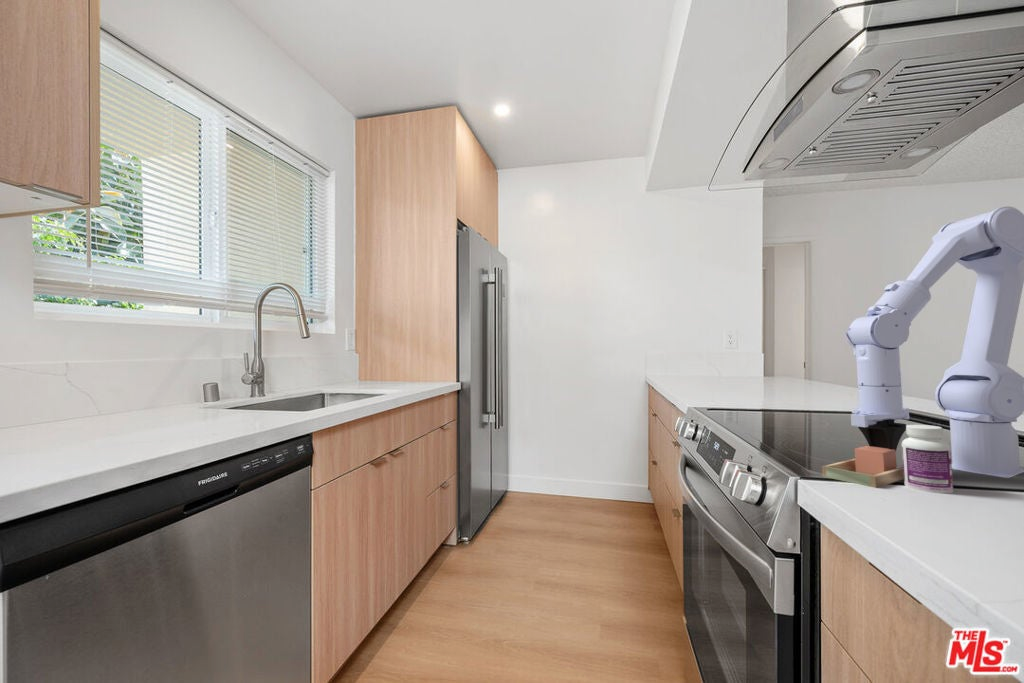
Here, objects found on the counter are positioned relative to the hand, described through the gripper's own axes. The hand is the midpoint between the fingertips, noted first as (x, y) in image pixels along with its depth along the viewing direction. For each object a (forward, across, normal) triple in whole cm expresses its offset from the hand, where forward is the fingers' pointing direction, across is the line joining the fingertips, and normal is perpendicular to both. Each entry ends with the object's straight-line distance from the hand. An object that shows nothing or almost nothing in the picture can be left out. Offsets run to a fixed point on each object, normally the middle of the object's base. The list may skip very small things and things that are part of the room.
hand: (883, 465), depth 74 cm
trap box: (+2, +3, 0) cm, 4 cm away
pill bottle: (+2, +5, +8) cm, 9 cm away
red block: (+1, +3, 0) cm, 3 cm away
